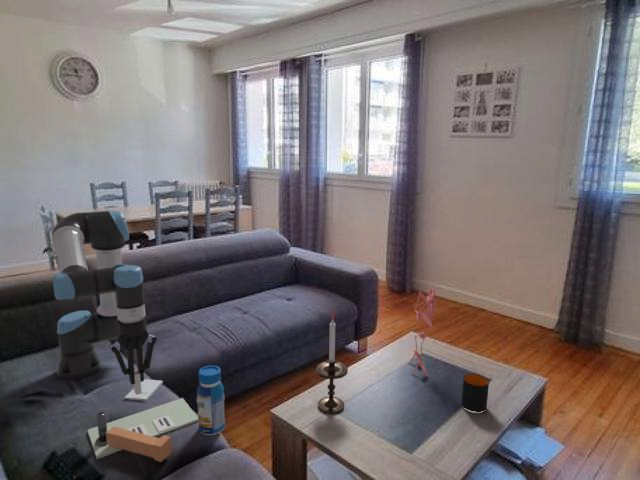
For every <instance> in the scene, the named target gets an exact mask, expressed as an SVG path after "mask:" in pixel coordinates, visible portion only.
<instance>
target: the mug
mask: <svg viewBox="0 0 640 480" xmlns="http://www.w3.org/2000/svg"><path fill="white" fill-rule="evenodd" d="M462 380H463V381H462V389H461V391H462V393H461V403H460V405H461V404H462V406H463V407H464V408H466V409H468V410H471V411H476V412H481V411H484V410H486V411H487V407H488V398H489V396H488V395H489V385H490V380H489V379H487V377H486V376H484V375H480V374H476V373H468V374H465V375H464V376H463V379H462ZM462 406H461V407H462Z"/></svg>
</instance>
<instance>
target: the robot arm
mask: <svg viewBox="0 0 640 480" xmlns="http://www.w3.org/2000/svg"><path fill="white" fill-rule="evenodd" d="M129 240H130V234H129V228H128V223H127V220H126V217H125V215H124V213H123V212H122V211H119V210H103V211H89V212H88V211H87V212H75V213H71V214H69V215H66V216H65V217H64V218H62V219H61V220H59V221H58V222H57V223H56V224H55V226H54V228H53V229H52V232H51V241H52V244H53V246H54V247H55V248H56V253H57V262H58V270H59V273H56V274H54V275H53V276H52V283H53V291H54V297H55V299H56V300H58V301H59V300H61V301H62V300H73V299H79V298H83V297H90V296H95V295H96V296H97V295H98V296H99V306H98V307H97V308H96V313H91V312H90V311H89V310H78V311H77V310H76V311H73V312H70V313H67V314H65V315H63V316H62V317H60V319H59V320H58V321H57V325H56V326H57V329H56V334H57V335H58V345H59V354H60V356H59V360H58V364H57V368H56V375H57V377H58V378H59V379H62V380H79V379H82V378H86V377H89V376H91V375H93V374H95V373H96V372H98V371H99V369H101V359H100V358H99V356H98V354H97V352H96V350H95V346H94V344H97V343H101V342H106V341H111V340H117V341H116V342H114V344H113V343H111V344H110V345H109V348H110V350H111V352H113V353H114V354H115V358H116V359H117V362H118V364H119V367H120V369H121V372H122V374H123V375H124V376H126V375H128V377H129V383H130V385H132V386H133V388H134V392H135V393H136V395H138V394H141V382H143V381H144V379H145V375H144V374H145V370H149V369H150V368H151V362H152V358H153V357H152V356H153V352H154V346H155V344H156V342H157V340H158V339H157V337H156V336H155V335H154V334H149V333H150V332H148V329H147V319H146V305H145V294H144V293H145V291H144V276H143V269H142V267H140V266H139V265H135V264H134V265H133V264H126V263H122V260H123V259H122V250H123V248H125V247H126V242H128V241H129ZM89 244H90V247H91V249H92V250H94V251H95V254H96V265H97V268H96V269H88V263H87V258H86V254H85V251H84V246H83V245H89ZM146 341H147V345H146V349H145V355H144V357H143V346H144V345H145V343H146ZM120 346H122V347H123V348H124V349H125V350H126V357H127V366H126V364H125V361H124V358H123V356H122V353H121V351H120V349H121V347H120ZM134 350H135V355H136V364H137V365H136V366H137V367H136V368H137V369H136V370H135V360H134ZM143 358H144V359H143Z"/></svg>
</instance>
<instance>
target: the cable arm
mask: <svg viewBox="0 0 640 480" xmlns="http://www.w3.org/2000/svg"><path fill="white" fill-rule="evenodd" d="M106 437H107V445H110V446H114V447H118V448H121V449H123V450H125V451H129V452H132V453H135V454H140V455H143V456H148V457H149V458H153V459H154V461H157V462H160V463H162V462H163V461H164V460H165V459H166V458H167V457H168V456H170V454H171V453H172V451H173V450H172V437H171V436H170V435H169V436H168V435H166V434H163V435H161V436H160V437H153V436H149V435H145V434H141V433H137V432H134V431H130V430H126V429H122V428H118V427H112V428H111V429H110V430H109V431H107V432H106Z"/></svg>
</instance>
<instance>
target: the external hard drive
mask: <svg viewBox="0 0 640 480" xmlns="http://www.w3.org/2000/svg"><path fill="white" fill-rule="evenodd" d="M163 382H164V381H163V380H161V379H160V380H159V379H157V380H156V379H147V378H146V379H145V378H144V381H143V382H141V394H138V395H136V393H135V392H134V387H133V388H132V389H131V390H130V391H129V392H128V393H127V394H126V395H125V397H124V398H123V400H124V399H131V400H130V401H137V400H143V401H142V402H147V401H148V400H149V399H150V398H151V397H152V395H153V394H154V393H155V392H156V391H157V390H158V389H159V388H160V387H161V385H163ZM150 396H151V397H150ZM149 397H150V398H149ZM148 398H149V399H148ZM147 399H148V400H147ZM146 400H147V401H146Z"/></svg>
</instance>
